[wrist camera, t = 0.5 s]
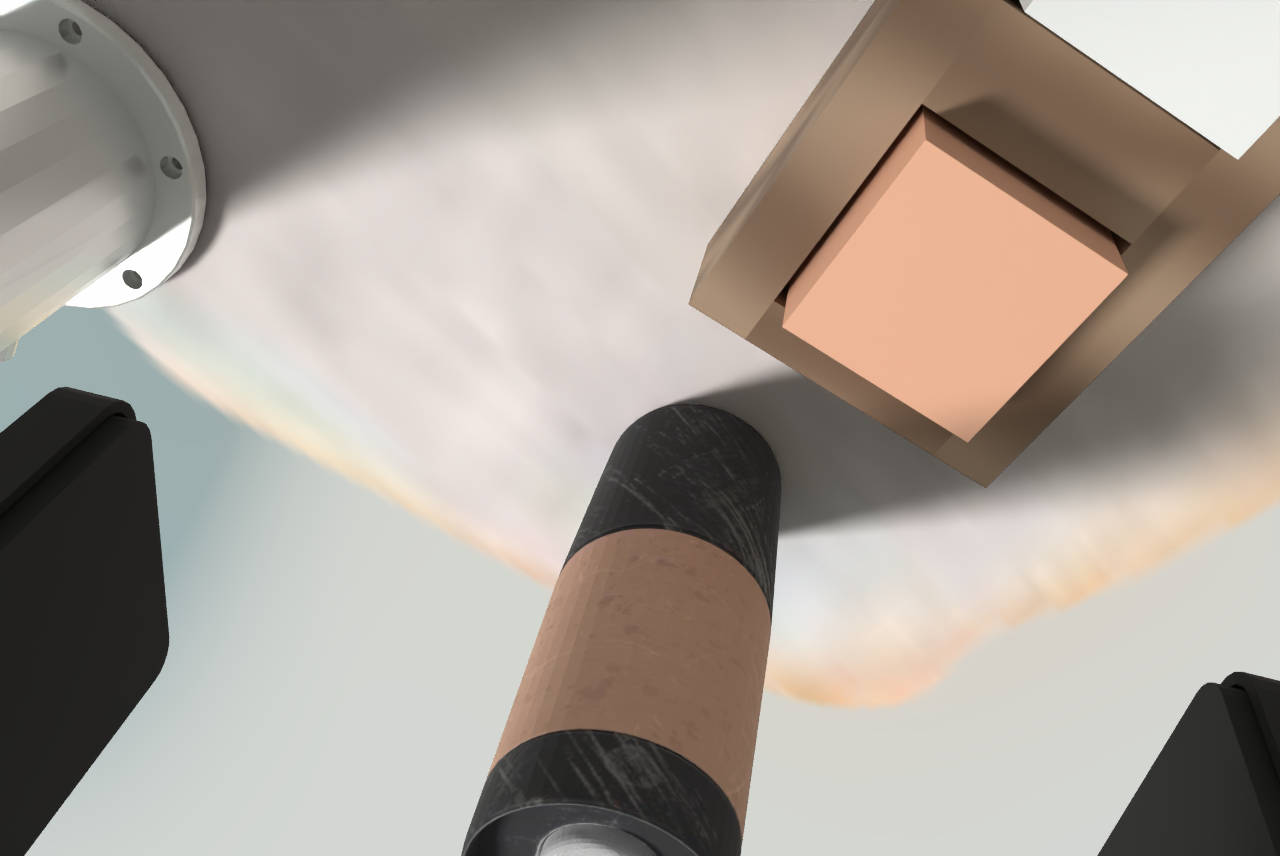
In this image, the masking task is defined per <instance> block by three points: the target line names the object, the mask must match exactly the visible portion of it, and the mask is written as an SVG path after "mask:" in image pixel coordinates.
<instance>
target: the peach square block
mask: <svg viewBox="0 0 1280 856" xmlns="http://www.w3.org/2000/svg"><path fill="white" fill-rule="evenodd" d="M1127 275H1128V272H1127V270H1126V268H1125V265H1124V263H1123V261H1122V258H1121V256H1120V254H1119V251H1118V249H1117V247H1116V244H1115V242H1114V240H1113V237H1112V235H1111V233H1110V230H1109V229H1108V228H1107V227H1105V226H1104V225H1102V224H1101V223H1099V222H1098V221H1096V220H1095V219H1093V218H1092V217H1090V216H1089V215H1088V214H1086V213H1085V212H1083V211H1082V210H1080V209H1079V208H1077V207H1076V206H1074V205H1073V204H1071V203H1070V202H1068V201H1067V200H1065V199H1064V198H1062V197H1061V196H1059V195H1058V194H1056V193H1055V192H1053V191H1052V190H1050V189H1049V188H1047V187H1046V186H1044V185H1043V184H1041V183H1040V182H1038V181H1037V180H1035V179H1034V178H1032V177H1031V176H1029V175H1028V174H1026V173H1025V172H1023V171H1022V170H1020V169H1019V168H1017V167H1016V166H1014V165H1013V164H1011V163H1010V162H1008V161H1007V160H1005V159H1004V158H1002V157H1001V156H999V155H998V154H996V153H995V152H993V151H992V150H990V149H989V148H987V147H986V146H984V145H983V144H981V143H980V142H978V141H977V140H975V139H974V138H973V137H971V136H970V135H968V134H967V133H965V132H964V131H962V130H961V129H959V128H958V127H956V126H955V125H953V124H952V123H950V122H949V121H947V120H946V119H944V118H943V117H941V116H940V115H938V114H937V113H935V112H934V111H932V110H931V109H929V108H928V107H926V106H925V105H923V104H921V105H920V107H919V108H918V109H917V111H916V112H915V113H914V115H913V116H912V117H911V119H910V120H909V121H908V123H907V124H906V125H905V127H904V128H903V129H902V131H901V132H900V133H899V135H898V136H897V137H896V139H895V140H894V141H893V143H892V144H891V145H890V147H889V148H888V149H887V151H886V152H885V153H884V155H883V156H882V157H881V159H880V160H879V161H878V163H877V164H876V165H875V167H874V168H873V169H872V171H871V172H870V173H869V175H868V176H867V177H866V179H865V180H864V181H863V183H862V184H861V185H860V187H859V188H858V189H857V191H856V192H855V193H854V195H853V196H852V197H851V199H850V200H849V201H848V203H847V204H846V205H845V207H844V208H843V209H842V211H841V212H840V213H839V215H838V216H837V217H836V219H835V220H834V221H833V223H832V224H831V225H830V227H829V228H828V229H827V231H826V232H825V233H824V235H823V236H822V237H821V239H820V240H819V241H818V243H817V244H816V245H815V247H814V248H813V249H812V251H811V252H810V253H809V255H808V256H807V257H806V259H805V260H804V261H803V263H802V264H801V265H800V266H799V268H798V269H797V270H796V272H795V273H794V274H793V276H792V277H791V278H790V282H789V288H788V294H787V300H786V307H785V313H784V319H783V325H782V327H783V328H785V329H786V330H788V331H790V332H791V333H793V334H794V335H796V336H798V337H799V338H801V339H802V340H804V341H806V342H807V343H809V344H810V345H812V346H814V347H815V348H817V349H818V350H820V351H822V352H823V353H825V354H826V355H828V356H830V357H831V358H833V359H834V360H836V361H838V362H839V363H841V364H842V365H844V366H846V367H847V368H849V369H850V370H852V371H854V372H855V373H857V374H858V375H860V376H862V377H863V378H865V379H866V380H868V381H870V382H871V383H873V384H875V385H876V386H878V387H879V388H881V389H883V390H884V391H886V392H887V393H889V394H891V395H892V396H894V397H895V398H897V399H899V400H900V401H902V402H903V403H905V404H907V405H908V406H910V407H911V408H913V409H915V410H916V411H918V412H919V413H921V414H923V415H924V416H926V417H927V418H929V419H931V420H932V421H934V422H935V423H937V424H939V425H940V426H942V427H943V428H945V429H947V430H948V431H950V432H951V433H953V434H955V435H956V436H958V437H959V438H961V439H963V440H964V441H966V442H967V443H968V442H969V441H970V440H971V439H972V438H973V437H974V436H975V434H976V433H977V432H978V431H979V430H980V429H981V428H982V427H983V426H984V425H985V424H986V423H987V422H988V421H989V420H990V419H991V418H992V417H993V416H994V415H995V414H996V412H997V411H998V410H999V409H1000V408H1001V407H1002V406H1003V405H1004V404H1005V403H1006V402H1007V401H1008V400H1009V399H1010V398H1011V397H1012V396H1013V395H1014V394H1015V393H1016V392H1017V391H1018V389H1019V388H1020V387H1021V386H1022V385H1023V384H1024V383H1025V382H1026V381H1027V380H1028V379H1029V378H1030V377H1031V376H1032V375H1033V374H1034V373H1035V372H1036V371H1037V370H1038V369H1039V367H1040V366H1041V365H1042V364H1043V363H1044V362H1045V361H1046V360H1047V359H1048V358H1049V357H1050V356H1051V355H1052V354H1053V353H1054V352H1055V351H1056V350H1057V349H1058V348H1059V347H1060V345H1061V344H1062V343H1063V342H1064V341H1065V340H1066V339H1067V338H1068V337H1069V336H1070V335H1071V334H1072V333H1073V332H1074V331H1075V330H1076V329H1077V328H1078V327H1079V326H1080V325H1081V324H1082V322H1083V321H1084V320H1085V319H1086V318H1087V317H1088V316H1089V315H1090V314H1091V313H1092V312H1093V311H1094V310H1095V309H1096V308H1097V307H1098V306H1099V305H1100V304H1101V303H1102V302H1103V300H1104V299H1105V298H1106V297H1107V296H1108V295H1109V294H1110V293H1111V292H1112V291H1113V290H1114V289H1115V288H1116V287H1117V286H1118V285H1119V284H1120V283H1121V282H1122V281H1123V280H1124V279H1125V277H1126V276H1127Z"/></svg>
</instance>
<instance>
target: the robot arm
mask: <svg viewBox="0 0 1280 856" xmlns="http://www.w3.org/2000/svg"><path fill="white" fill-rule="evenodd" d="M206 199H207V197H206V181H205V168H204V164H203V160H202V156H201V152H200V148H199V144H198V140H197V136H196V134H195V132H194V129H193V127H192V125H191V122H190V120H189V118H188V115H187V113H186V111H185V108H184V106H183V104H182V103H181V101H180V99H179V98H178V96H177V94H176V93H175V91H174V90H173V88H172V86H171V85H170V83H169V81H168V80H167V78H166V77H165V75H164V74H163V73H162V71H161V70H160V69H159V68H158V67H157V65H156V64H155V63H154V62H153V61H152V59H151V58H150V57H149V56H148V55H147V53H146V52H145V51H144V50H143V49H142V47H141V46H140V45H138V44H137V43H136V42H135V41H134V40H133V39H132V38H131V37H130V36H128V35H127V34H126V33H125V32H124V31H123V30H122V29H121V28H120V27H118V26H117V25H116V24H115V23H114V22H113V21H111V20H110V19H108V18H107V17H105V16H104V15H102V14H101V13H99V12H98V11H96V10H95V9H93V8H92V7H90V6H89V5H87V4H86V3H84V2H83V1H81V0H0V362H4V361H7V360H10V359H12V357H13V355H14V354H15V351H16V348H17V344H18V341H19V338H20V337H21V336H23V335H24V334H26V333H27V332H28V331H30V330H31V329H32V328H34V327H35V326H36V325H38V324H39V323H40V322H41V321H43V320H44V319H46V318H47V317H48V316H50V315H51V314H52V313H54V312H55V311H57V310H58V309H59V308H61V307H62V306H63V305H65V306H74V307H85V308H101V307H110V306H119V305H122V304H125V303H128V302H131V301H134V300H137V299H140V298H142V297H144V296H145V295H147V294H148V293H150V292H151V291H153V290H155V289H156V288H158V287H159V286H161V285H162V284H163V283H164V282H165V281H167V280H168V279H169V278H170V277H171V276H172V275H173V274H175V273H176V272H177V271H178V270H179V269H180V268H181V267H182V265H183V264H184V262H185V261H186V260H187V258H188V257H189V255H190V254H191V252H192V251H193V250H194V247H195V245H196V242H197V240H198V237H199V234H200V232H201V229H202V226H203V221H204V214H205V206H206ZM168 647H169V630H168V618H167V608H166V596H165V586H164V574H163V563H162V551H161V541H160V529H159V518H158V507H157V495H156V485H155V473H154V462H153V451H152V439H151V434H150V430H149V428H148V427H147V425H146V424H145V423H143V422H140V421H136V416H135V413H134V410H133V409H132V407H131V405H130V404H128V403H127V402H125V401H123V400H119V399H114V398H110V397H106V396H102V395H98V394H93V393H89V392H85V391H81V390H77V389H73V388H69V387H62V388H57V389H55V390H54V391H52V392H50V393H48V394H47V395H46V396H45V397H44V398H42V399H41V400H40V401H39V402H38V403H36V404H35V405H34V406H33V407H31V408H30V409H29V410H28V411H27V412H25V413H24V414H23V415H22V416H21V417H19V418H18V419H17V420H16V421H14V422H13V423H12V424H11V425H10V426H9V427H7V428H6V429H5V430H4V431H3V432H1V433H0V856H24V855H25V854H26V852H27V851H28V850H29V848H30V847H31V846H32V844H33V843H34V842H35V840H36V839H37V838H38V836H39V835H40V834H41V832H42V831H43V830H44V828H45V827H46V826H47V824H48V823H49V822H50V820H51V819H52V818H53V816H54V815H55V814H56V812H57V811H58V809H59V808H60V807H61V806H62V804H63V803H64V801H65V800H66V799H67V798H68V796H69V795H70V794H71V792H72V791H73V790H74V788H75V787H76V785H77V784H78V783H79V782H80V780H81V779H82V778H83V776H84V775H85V773H86V772H87V771H88V769H89V768H90V767H91V765H92V764H93V763H94V761H95V760H96V759H97V757H98V756H99V755H100V753H101V752H102V751H103V749H104V748H105V747H106V745H107V744H108V743H109V741H110V740H111V739H112V737H113V736H114V735H115V733H116V732H117V731H118V729H119V728H120V726H121V725H122V724H123V722H124V721H125V720H126V719H127V717H128V716H129V715H130V713H131V712H132V711H133V709H134V708H135V706H136V705H137V704H138V703H139V701H140V700H141V698H142V697H143V696H144V694H145V693H146V692H147V690H148V689H149V688H150V686H151V685H152V684H153V682H154V681H155V680H156V678H157V676H158V675H159V673H160V671H161V669H162V667H163V665H164V662H165V659H166V656H167V652H168ZM1098 856H1280V681H1278V680H1274V679H1269V678H1265V677H1261V676H1257V675H1253V674H1249V673H1245V672H1234V673H1232V674H1230V675H1229V676H1227V677H1226V678H1225V679H1224V681H1223V682H1222V683H1221V684H1217V683H1207V684H1205V685H1203V686H1202V687H1201V688H1200V689H1199V691H1198V692H1197V693H1196V695H1195V697H1194V698H1193V700H1192V702H1191V703H1190V705H1189V706H1188V708H1187V710H1186V711H1185V713H1184V715H1183V716H1182V718H1181V720H1180V721H1179V723H1178V725H1177V726H1176V728H1175V730H1174V731H1173V733H1172V734H1171V736H1170V738H1169V739H1168V741H1167V743H1166V744H1165V746H1164V748H1163V749H1162V751H1161V752H1160V754H1159V756H1158V758H1157V759H1156V761H1155V762H1154V764H1153V765H1152V767H1151V769H1150V770H1149V772H1148V774H1147V775H1146V777H1145V779H1144V780H1143V782H1142V784H1141V785H1140V787H1139V788H1138V790H1137V792H1136V793H1135V795H1134V797H1133V798H1132V800H1131V802H1130V803H1129V805H1128V806H1127V808H1126V810H1125V811H1124V813H1123V815H1122V816H1121V818H1120V820H1119V821H1118V823H1117V825H1116V826H1115V828H1114V830H1113V831H1112V833H1111V835H1110V836H1109V838H1108V839H1107V841H1106V843H1105V844H1104V846H1103V847H1102V849H1101V851H1100V852H1099V854H1098Z"/></svg>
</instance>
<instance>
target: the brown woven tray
mask: <svg viewBox="0 0 1280 856" xmlns="http://www.w3.org/2000/svg"><path fill="white" fill-rule="evenodd" d="M921 104H923V105H925V106H926V107H928V108H929V109H931V110H932V111H934V112H935V113H937V114H938V115H940V116H941V117H943V118H944V119H946V120H947V121H949V122H950V123H952V124H953V125H955V126H956V127H958V128H959V129H961V130H962V131H964V132H965V133H967V134H968V135H970V136H971V137H973V138H974V139H975V140H977V141H978V142H980V143H981V144H983V145H984V146H986V147H987V148H989V149H990V150H992V151H993V152H995V153H996V154H998V155H999V156H1001V157H1002V158H1004V159H1005V160H1007V161H1008V162H1010V163H1011V164H1013V165H1014V166H1016V167H1017V168H1019V169H1020V170H1022V171H1023V172H1025V173H1026V174H1028V175H1029V176H1031V177H1032V178H1034V179H1035V180H1037V181H1038V182H1040V183H1041V184H1043V185H1044V186H1046V187H1047V188H1049V189H1050V190H1052V191H1053V192H1055V193H1056V194H1058V195H1059V196H1061V197H1062V198H1064V199H1065V200H1067V201H1068V202H1070V203H1071V204H1073V205H1074V206H1076V207H1077V208H1079V209H1080V210H1082V211H1083V212H1085V213H1086V214H1088V215H1089V216H1090V217H1092V218H1093V219H1095V220H1096V221H1098V222H1099V223H1101V224H1102V225H1104V226H1105V227H1107V228H1108V229H1109V230H1110V233H1111V235H1112V237H1113V240H1114V242H1115V244H1116V247H1117V249H1118V251H1119V254H1120V256H1121V258H1122V261H1123V263H1124V265H1125V268H1126V270H1127V272H1128V275H1127V276H1126V277H1125V279H1124V280H1123V281H1122V282H1121V283H1120V284H1119V285H1118V286H1117V287H1116V288H1115V289H1114V290H1113V291H1112V292H1111V293H1110V294H1109V295H1108V296H1107V297H1106V298H1105V299H1104V300H1103V302H1102V303H1101V304H1100V305H1099V306H1098V307H1097V308H1096V309H1095V310H1094V311H1093V312H1092V313H1091V314H1090V315H1089V316H1088V317H1087V318H1086V319H1085V320H1084V321H1083V322H1082V324H1081V325H1080V326H1079V327H1078V328H1077V329H1076V330H1075V331H1074V332H1073V333H1072V334H1071V335H1070V336H1069V337H1068V338H1067V339H1066V340H1065V341H1064V342H1063V343H1062V344H1061V345H1060V347H1059V348H1058V349H1057V350H1056V351H1055V352H1054V353H1053V354H1052V355H1051V356H1050V357H1049V358H1048V359H1047V360H1046V361H1045V362H1044V363H1043V364H1042V365H1041V366H1040V367H1039V369H1038V370H1037V371H1036V372H1035V373H1034V374H1033V375H1032V376H1031V377H1030V378H1029V379H1028V380H1027V381H1026V382H1025V383H1024V384H1023V385H1022V386H1021V387H1020V388H1019V389H1018V391H1017V392H1016V393H1015V394H1014V395H1013V396H1012V397H1011V398H1010V399H1009V400H1008V401H1007V402H1006V403H1005V404H1004V405H1003V406H1002V407H1001V408H1000V409H999V410H998V411H997V412H996V414H995V415H994V416H993V417H992V418H991V419H990V420H989V421H988V422H987V423H986V424H985V425H984V426H983V427H982V428H981V429H980V430H979V431H978V432H977V433H976V434H975V436H974V437H973V438H972V439H971V440H970V441H969V442H968V443H967V442H966V441H964V440H963V439H961V438H959V437H958V436H956V435H955V434H953V433H951V432H950V431H948V430H947V429H945V428H943V427H942V426H940V425H939V424H937V423H935V422H934V421H932V420H931V419H929V418H927V417H926V416H924V415H923V414H921V413H919V412H918V411H916V410H915V409H913V408H911V407H910V406H908V405H907V404H905V403H903V402H902V401H900V400H899V399H897V398H895V397H894V396H892V395H891V394H889V393H887V392H886V391H884V390H883V389H881V388H879V387H878V386H876V385H875V384H873V383H871V382H870V381H868V380H866V379H865V378H863V377H862V376H860V375H858V374H857V373H855V372H854V371H852V370H850V369H849V368H847V367H846V366H844V365H842V364H841V363H839V362H838V361H836V360H834V359H833V358H831V357H830V356H828V355H826V354H825V353H823V352H822V351H820V350H818V349H817V348H815V347H814V346H812V345H810V344H809V343H807V342H806V341H804V340H802V339H801V338H799V337H798V336H796V335H794V334H793V333H791V332H790V331H788V330H786V329H785V328H783V327H782V325H783V319H784V313H785V307H786V300H787V294H788V288H789V282H790V278H791V277H792V276H793V274H794V273H795V272H796V270H797V269H798V268H799V266H800V265H801V264H802V263H803V261H804V260H805V259H806V257H807V256H808V255H809V253H810V252H811V251H812V249H813V248H814V247H815V245H816V244H817V243H818V241H819V240H820V239H821V237H822V236H823V235H824V233H825V232H826V231H827V229H828V228H829V227H830V225H831V224H832V223H833V221H834V220H835V219H836V217H837V216H838V215H839V213H840V212H841V211H842V209H843V208H844V207H845V205H846V204H847V203H848V201H849V200H850V199H851V197H852V196H853V195H854V193H855V192H856V191H857V189H858V188H859V187H860V185H861V184H862V183H863V181H864V180H865V179H866V177H867V176H868V175H869V173H870V172H871V171H872V169H873V168H874V167H875V165H876V164H877V163H878V161H879V160H880V159H881V157H882V156H883V155H884V153H885V152H886V151H887V149H888V148H889V147H890V145H891V144H892V143H893V141H894V140H895V139H896V137H897V136H898V135H899V133H900V132H901V131H902V129H903V128H904V127H905V125H906V124H907V123H908V121H909V120H910V119H911V117H912V116H913V115H914V113H915V112H916V111H917V109H918V108H919V107H920V105H921ZM1279 194H1280V116H1279V117H1278V118H1277V119H1276V120H1275V122H1274V123H1273V124H1272V125H1271V126H1270V127H1269V128H1268V129H1267V130H1266V131H1265V132H1264V133H1263V134H1262V135H1261V136H1260V137H1259V138H1258V139H1257V140H1256V141H1255V142H1254V143H1253V145H1252V146H1251V147H1250V148H1249V149H1248V150H1247V151H1246V152H1245V153H1244V154H1243V155H1242V156H1241V157H1240V158H1239V159H1238V160H1237V159H1236V158H1235V157H1233V156H1232V155H1230V154H1229V153H1227V152H1226V151H1224V150H1223V149H1222V148H1220V147H1219V146H1217V145H1216V144H1214V143H1213V142H1211V141H1210V140H1209V139H1207V138H1206V137H1204V136H1203V135H1201V134H1200V133H1198V132H1197V131H1196V130H1194V129H1193V128H1191V127H1190V126H1188V125H1187V124H1186V123H1184V122H1183V121H1181V120H1180V119H1178V118H1177V117H1175V116H1174V115H1173V114H1171V113H1170V112H1168V111H1167V110H1165V109H1164V108H1162V107H1161V106H1160V105H1158V104H1157V103H1155V102H1154V101H1152V100H1151V99H1149V98H1148V97H1147V96H1145V95H1144V94H1142V93H1141V92H1139V91H1138V90H1136V89H1135V88H1134V87H1132V86H1131V85H1129V84H1128V83H1126V82H1125V81H1124V80H1122V79H1121V78H1119V77H1118V76H1116V75H1115V74H1113V73H1112V72H1111V71H1109V70H1108V69H1106V68H1105V67H1103V66H1102V65H1100V64H1099V63H1098V62H1096V61H1095V60H1093V59H1092V58H1090V57H1089V56H1087V55H1086V54H1085V53H1083V52H1082V51H1080V50H1079V49H1077V48H1076V47H1074V46H1073V45H1072V44H1070V43H1069V42H1067V41H1066V40H1064V39H1063V38H1062V37H1060V36H1059V35H1057V34H1056V33H1054V32H1053V31H1051V30H1050V29H1049V28H1047V27H1046V26H1044V25H1043V24H1041V23H1040V22H1038V21H1037V20H1036V19H1034V18H1033V17H1031V16H1030V15H1028V14H1027V13H1025V12H1024V10H1023V8H1022V5H1021V3H1020V1H1019V0H875V1H874V3H873V4H872V6H871V7H870V9H869V10H868V12H867V13H866V15H865V16H864V18H863V19H862V20H861V22H860V23H859V25H858V26H857V28H856V29H855V31H854V32H853V34H852V35H851V36H850V38H849V39H848V41H847V42H846V44H845V45H844V47H843V48H842V50H841V51H840V53H839V54H838V55H837V57H836V58H835V60H834V61H833V63H832V64H831V66H830V67H829V69H828V70H827V71H826V73H825V74H824V76H823V77H822V79H821V80H820V82H819V83H818V85H817V86H816V88H815V89H814V90H813V92H812V93H811V95H810V96H809V98H808V99H807V101H806V102H805V104H804V105H803V106H802V108H801V109H800V111H799V112H798V114H797V115H796V117H795V118H794V120H793V121H792V123H791V124H790V125H789V127H788V128H787V130H786V131H785V133H784V134H783V136H782V137H781V139H780V140H779V141H778V143H777V144H776V146H775V147H774V149H773V150H772V152H771V153H770V155H769V156H768V158H767V159H766V160H765V162H764V163H763V165H762V166H761V168H760V169H759V171H758V172H757V174H756V175H755V176H754V178H753V179H752V181H751V182H750V184H749V185H748V187H747V188H746V190H745V191H744V193H743V194H742V195H741V197H740V198H739V200H738V201H737V203H736V204H735V206H734V207H733V209H732V210H731V211H730V213H729V214H728V216H727V217H726V219H725V220H724V222H723V223H722V225H721V226H720V228H719V229H718V230H717V232H716V233H715V235H714V236H713V238H712V239H711V241H710V242H709V244H708V246H707V249H706V252H705V255H704V258H703V261H702V264H701V267H700V270H699V273H698V277H697V280H696V283H695V286H694V289H693V292H692V295H691V298H690V301H689V305H690V306H692V307H694V308H695V309H697V310H699V311H700V312H702V313H703V314H705V315H707V316H708V317H710V318H711V319H713V320H715V321H716V322H718V323H720V324H721V325H723V326H724V327H726V328H728V329H729V330H731V331H732V332H734V333H736V334H737V335H739V336H741V337H742V338H744V339H745V340H747V341H749V342H750V343H752V344H753V345H755V346H757V347H758V348H760V349H762V350H763V351H765V352H766V353H768V354H770V355H771V356H773V357H774V358H776V359H778V360H779V361H781V362H783V363H784V364H786V365H787V366H789V367H791V368H792V369H794V370H796V371H797V372H799V373H800V374H802V375H804V376H805V377H807V378H808V379H810V380H812V381H813V382H815V383H817V384H818V385H820V386H821V387H823V388H825V389H826V390H828V391H829V392H831V393H833V394H834V395H836V396H838V397H839V398H841V399H842V400H844V401H846V402H847V403H849V404H850V405H852V406H854V407H855V408H857V409H859V410H860V411H862V412H863V413H865V414H867V415H868V416H870V417H871V418H873V419H875V420H876V421H878V422H880V423H881V424H883V425H884V426H886V427H888V428H889V429H891V430H892V431H894V432H896V433H897V434H899V435H901V436H902V437H904V438H905V439H907V440H909V441H910V442H912V443H914V444H915V445H917V446H918V447H920V448H922V449H923V450H925V451H926V452H928V453H930V454H931V455H933V456H935V457H936V458H938V459H939V460H941V461H943V462H944V463H946V464H947V465H949V466H951V467H952V468H954V469H956V470H957V471H959V472H960V473H962V474H964V475H965V476H967V477H968V478H970V479H972V480H973V481H975V482H977V483H978V484H980V485H981V486H983V487H985V488H986V487H987V486H988V485H989V484H990V483H991V482H992V481H993V480H994V479H995V478H996V477H997V476H998V475H999V474H1000V473H1001V472H1002V471H1003V470H1004V469H1005V468H1006V467H1007V466H1008V465H1009V464H1010V463H1011V462H1012V461H1013V460H1014V459H1015V458H1016V457H1017V456H1018V455H1019V454H1020V453H1021V452H1022V451H1023V450H1024V449H1025V448H1026V447H1027V446H1028V445H1029V444H1030V443H1031V442H1032V441H1033V440H1034V439H1035V438H1036V437H1037V436H1038V435H1039V434H1040V433H1041V432H1042V431H1043V430H1044V429H1045V428H1046V427H1047V426H1048V425H1049V424H1050V423H1051V422H1052V421H1053V420H1054V419H1055V418H1056V417H1057V416H1058V415H1059V414H1060V413H1061V412H1062V411H1063V410H1064V409H1065V408H1066V407H1067V406H1068V405H1069V404H1070V403H1071V402H1072V401H1073V400H1074V399H1075V398H1076V397H1077V396H1078V395H1079V394H1080V393H1081V392H1082V391H1083V390H1084V389H1085V388H1086V387H1087V386H1088V385H1089V384H1090V383H1091V382H1092V381H1093V380H1094V379H1095V378H1096V377H1097V376H1098V375H1099V374H1100V373H1101V372H1102V371H1103V370H1104V369H1105V368H1106V367H1107V366H1108V365H1109V364H1110V363H1111V362H1112V361H1113V360H1114V359H1115V358H1116V357H1117V356H1118V355H1119V354H1120V353H1121V352H1122V351H1123V350H1124V349H1125V348H1126V347H1127V346H1128V345H1129V344H1130V343H1131V342H1132V341H1133V340H1134V339H1135V338H1136V337H1137V336H1138V335H1139V334H1140V333H1141V332H1142V331H1143V330H1144V329H1145V328H1146V327H1147V326H1148V325H1149V324H1150V323H1151V322H1152V321H1153V320H1154V319H1155V318H1156V317H1157V316H1158V315H1159V314H1160V313H1161V312H1162V311H1163V310H1164V309H1165V308H1166V307H1167V306H1168V305H1169V304H1170V303H1171V302H1172V301H1173V300H1174V299H1175V298H1176V297H1177V296H1178V295H1179V294H1180V293H1181V292H1182V291H1183V290H1184V289H1185V288H1186V287H1187V286H1188V285H1189V284H1190V283H1191V282H1192V281H1193V280H1194V279H1195V278H1196V277H1197V276H1198V275H1199V274H1200V273H1201V272H1202V271H1203V270H1204V269H1205V268H1206V267H1207V266H1208V265H1209V264H1210V263H1211V262H1212V261H1213V260H1214V259H1215V258H1216V257H1217V256H1218V255H1219V254H1220V253H1221V252H1222V251H1223V250H1224V249H1225V248H1226V247H1227V246H1228V245H1229V244H1230V243H1231V242H1232V241H1233V240H1234V239H1235V238H1236V237H1237V236H1238V235H1239V234H1240V233H1241V232H1242V231H1243V230H1244V229H1245V228H1246V227H1247V226H1248V225H1249V224H1250V223H1251V222H1252V221H1253V220H1254V219H1255V218H1256V217H1257V216H1258V215H1259V214H1260V213H1261V212H1262V211H1263V210H1264V209H1265V208H1266V207H1267V206H1268V205H1269V204H1270V203H1271V202H1272V201H1273V200H1274V199H1275V198H1276V197H1277V196H1278V195H1279Z"/></svg>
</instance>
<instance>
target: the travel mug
mask: <svg viewBox="0 0 1280 856" xmlns="http://www.w3.org/2000/svg"><path fill="white" fill-rule="evenodd" d="M780 499H781V478H780V471H779V467H778V464H777V461H776V459H775V456H774V454H773V452H772V450H771V449H770V447H769V445H768V444H767V442H766V441H765V440H764V439H763V438H762V436H761V435H760V434H759V433H758V432H757V431H756V430H755V429H753V428H752V427H751V426H750V425H748V424H747V423H746V422H744V421H743V420H741V419H739V418H737V417H736V416H734V415H732V414H729V413H727V412H725V411H722V410H719V409H716V408H712V407H707V406H701V405H675V406H669V407H665V408H661V409H658V410H655V411H653V412H650V413H648V414H646V415H644V416H643V417H641V418H639V419H638V420H637V421H635V422H634V423H633V424H632V425H631V426H629V427H628V428H627V430H626V431H625V432H624V433H623V434H622V435H621V437H620V438H619V440H618V441H617V443H616V445H615V447H614V449H613V451H612V453H611V456H610V458H609V460H608V462H607V464H606V467H605V469H604V471H603V473H602V476H601V478H600V481H599V483H598V485H597V488H596V490H595V492H594V495H593V497H592V499H591V502H590V504H589V506H588V509H587V511H586V514H585V516H584V518H583V521H582V523H581V525H580V528H579V530H578V532H577V535H576V537H575V539H574V542H573V544H572V546H571V549H570V551H569V554H568V556H567V558H566V561H565V563H564V565H563V568H562V570H561V572H560V575H559V578H558V580H557V582H556V585H555V588H554V591H553V594H552V596H551V599H550V602H549V605H548V608H547V610H546V613H545V616H544V619H543V622H542V625H541V627H540V630H539V633H538V636H537V639H536V642H535V644H534V647H533V650H532V653H531V655H530V658H529V661H528V664H527V667H526V670H525V672H524V675H523V678H522V681H521V684H520V686H519V689H518V692H517V695H516V698H515V700H514V704H513V706H512V709H511V712H510V715H509V718H508V720H507V723H506V726H505V729H504V731H503V734H502V737H501V740H500V743H499V746H498V748H497V751H496V754H495V757H494V760H493V762H492V765H491V768H490V771H489V774H488V776H487V780H486V782H485V785H484V788H483V790H482V793H481V796H480V799H479V802H478V805H477V807H476V810H475V813H474V816H473V819H472V821H471V824H470V827H469V830H468V833H467V835H466V839H465V842H464V847H463V851H462V855H461V856H740V855H741V846H742V840H743V832H744V825H745V817H746V811H747V803H748V795H749V788H750V781H751V774H752V767H753V759H754V752H755V745H756V737H757V730H758V722H759V715H760V708H761V700H762V693H763V686H764V679H765V671H766V664H767V657H768V649H769V642H770V635H771V623H772V610H773V597H774V584H775V570H776V557H777V544H778V530H779V517H780Z"/></svg>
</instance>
